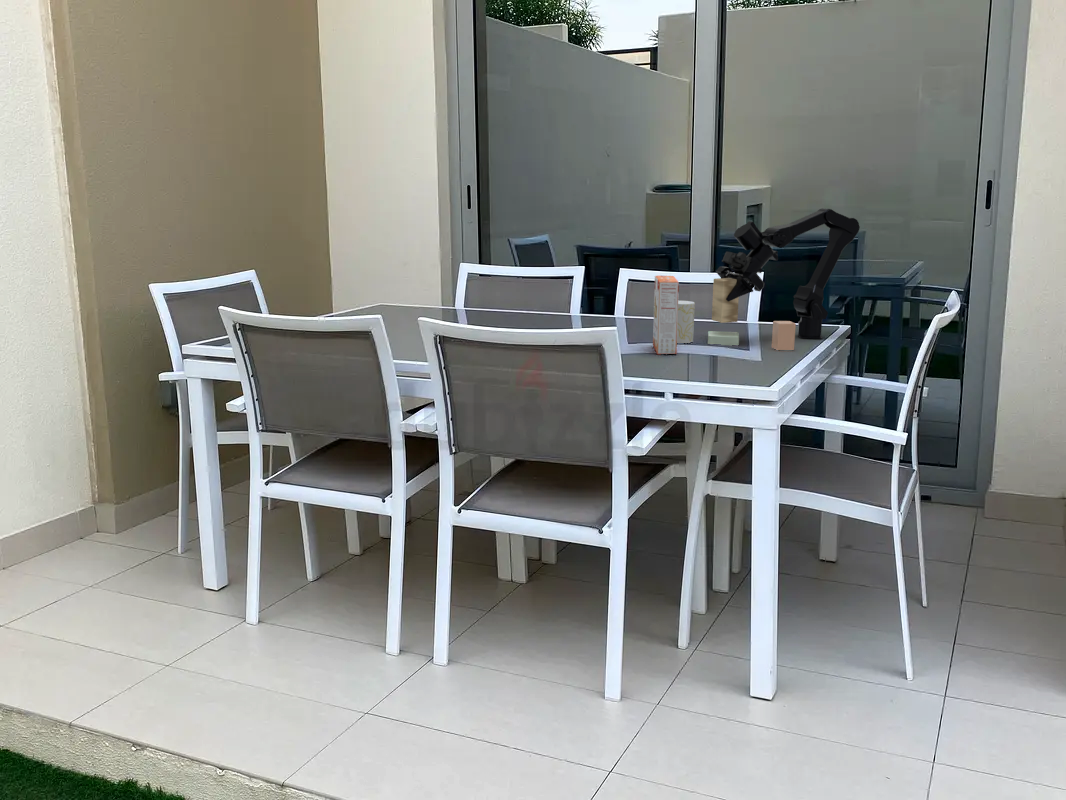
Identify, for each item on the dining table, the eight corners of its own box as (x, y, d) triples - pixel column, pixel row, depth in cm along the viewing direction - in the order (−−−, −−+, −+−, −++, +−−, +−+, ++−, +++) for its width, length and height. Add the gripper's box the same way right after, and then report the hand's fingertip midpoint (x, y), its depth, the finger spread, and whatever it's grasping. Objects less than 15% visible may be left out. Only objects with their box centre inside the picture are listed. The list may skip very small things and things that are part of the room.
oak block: (727, 319, 313) (729, 277, 310) (737, 321, 308) (739, 279, 305) (711, 320, 311) (713, 278, 308) (721, 322, 306) (723, 280, 303)
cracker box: (651, 346, 303) (654, 275, 299) (671, 346, 303) (675, 275, 299) (655, 355, 290) (658, 280, 285) (676, 355, 290) (680, 280, 285)
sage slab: (737, 342, 315) (738, 332, 314) (738, 347, 306) (738, 337, 306) (707, 340, 316) (708, 331, 316) (707, 345, 308) (708, 335, 307)
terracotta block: (787, 348, 304) (789, 321, 302) (793, 351, 299) (795, 323, 297) (771, 348, 303) (773, 321, 301) (777, 351, 298) (778, 323, 296)
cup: (676, 345, 306) (677, 304, 303) (660, 340, 313) (662, 301, 310) (698, 343, 310) (700, 303, 307) (682, 338, 317) (684, 299, 314)
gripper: (723, 239, 314) (689, 277, 313) (757, 244, 297) (722, 284, 296) (743, 265, 319) (711, 302, 317) (779, 271, 302) (744, 310, 301)
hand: (721, 299), depth 308 cm, fingers closed on oak block, 5 cm apart
